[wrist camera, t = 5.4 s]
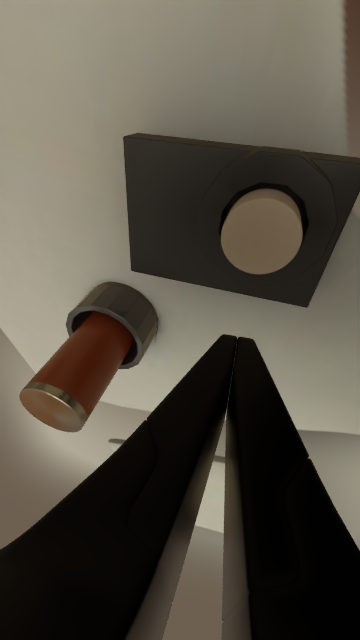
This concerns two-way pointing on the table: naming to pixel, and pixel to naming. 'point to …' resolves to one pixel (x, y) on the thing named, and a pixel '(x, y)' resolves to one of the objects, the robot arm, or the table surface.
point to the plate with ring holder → (216, 202)
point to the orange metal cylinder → (78, 373)
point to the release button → (262, 231)
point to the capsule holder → (120, 316)
